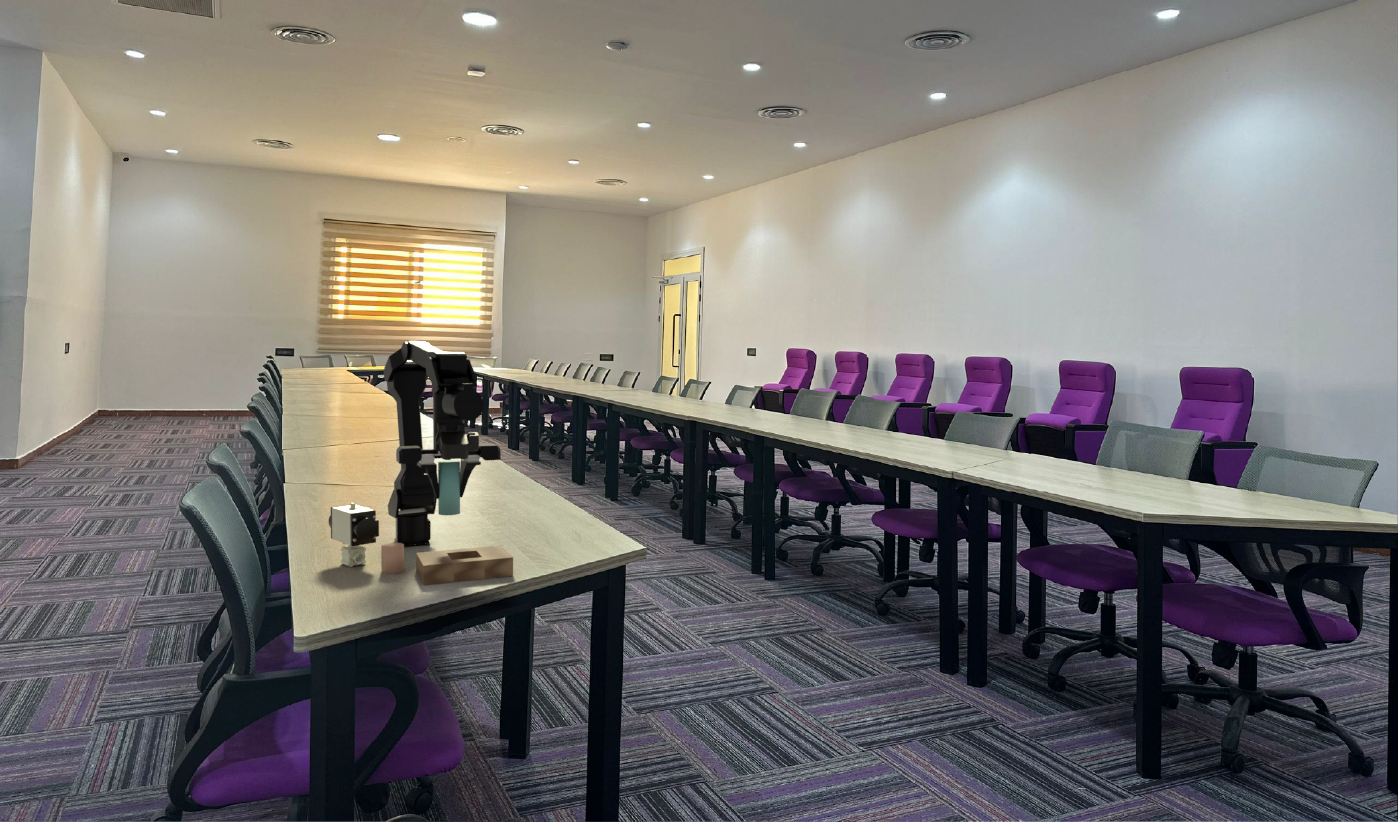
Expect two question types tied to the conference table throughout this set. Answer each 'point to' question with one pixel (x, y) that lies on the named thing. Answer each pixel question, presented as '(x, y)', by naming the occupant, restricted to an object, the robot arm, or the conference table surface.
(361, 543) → the pneumatic valve
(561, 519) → the conference table surface
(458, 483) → the tall pin
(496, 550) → the bore board
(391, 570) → the short pin
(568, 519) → the conference table surface
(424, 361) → the robot arm
